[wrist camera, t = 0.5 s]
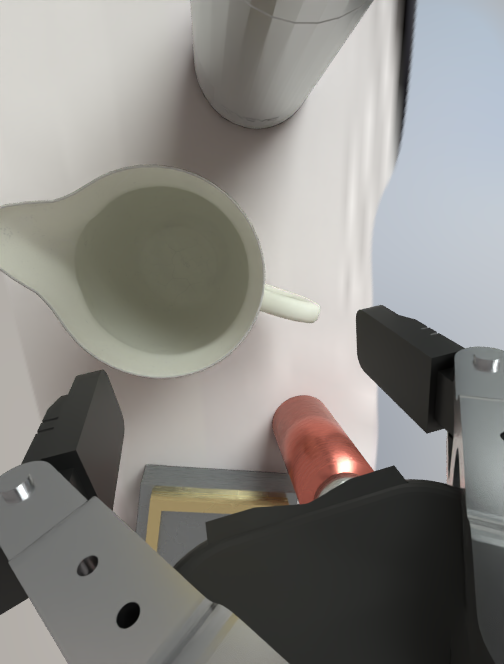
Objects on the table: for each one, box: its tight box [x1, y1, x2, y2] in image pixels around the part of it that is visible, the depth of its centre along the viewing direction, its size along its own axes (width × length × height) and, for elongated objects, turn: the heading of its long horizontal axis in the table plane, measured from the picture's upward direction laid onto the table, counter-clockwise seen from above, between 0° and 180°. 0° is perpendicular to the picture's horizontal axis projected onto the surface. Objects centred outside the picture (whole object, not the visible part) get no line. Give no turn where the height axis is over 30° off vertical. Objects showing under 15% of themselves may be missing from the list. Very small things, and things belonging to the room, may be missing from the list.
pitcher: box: [0, 165, 320, 379], centre depth 24 cm, size 11×18×14 cm, turn 74°
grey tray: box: [136, 465, 298, 567], centre depth 35 cm, size 16×14×4 cm
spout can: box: [272, 395, 374, 504], centre depth 28 cm, size 6×6×15 cm
